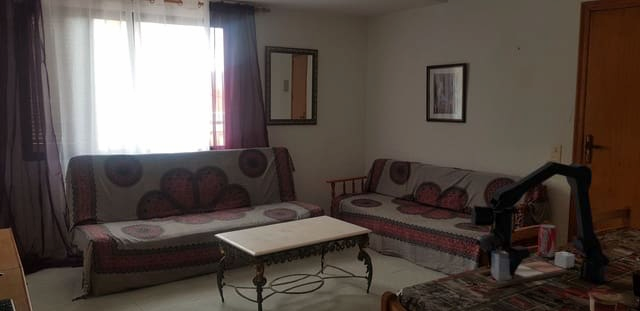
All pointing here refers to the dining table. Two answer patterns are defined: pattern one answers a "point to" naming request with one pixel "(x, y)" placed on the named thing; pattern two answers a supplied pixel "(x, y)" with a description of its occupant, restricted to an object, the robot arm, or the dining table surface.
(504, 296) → the dining table surface
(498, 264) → the medicine box
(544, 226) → the beverage can
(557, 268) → the board
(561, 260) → the die
